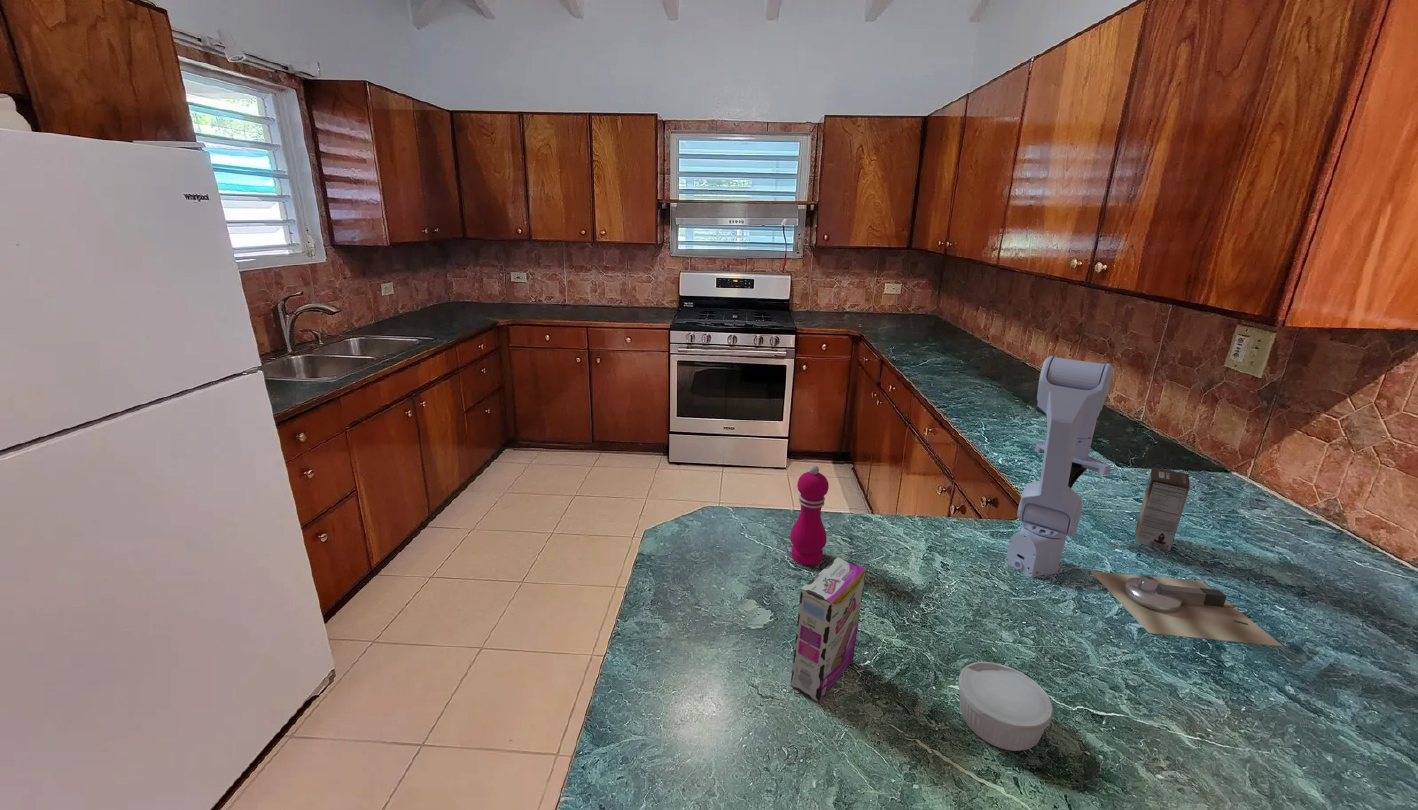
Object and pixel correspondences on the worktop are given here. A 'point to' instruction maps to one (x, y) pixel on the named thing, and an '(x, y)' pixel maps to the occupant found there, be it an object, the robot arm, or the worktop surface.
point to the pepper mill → (810, 519)
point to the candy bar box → (827, 627)
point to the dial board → (1188, 614)
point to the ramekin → (1003, 705)
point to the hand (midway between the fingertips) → (1062, 493)
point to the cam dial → (1169, 594)
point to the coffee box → (1162, 508)
